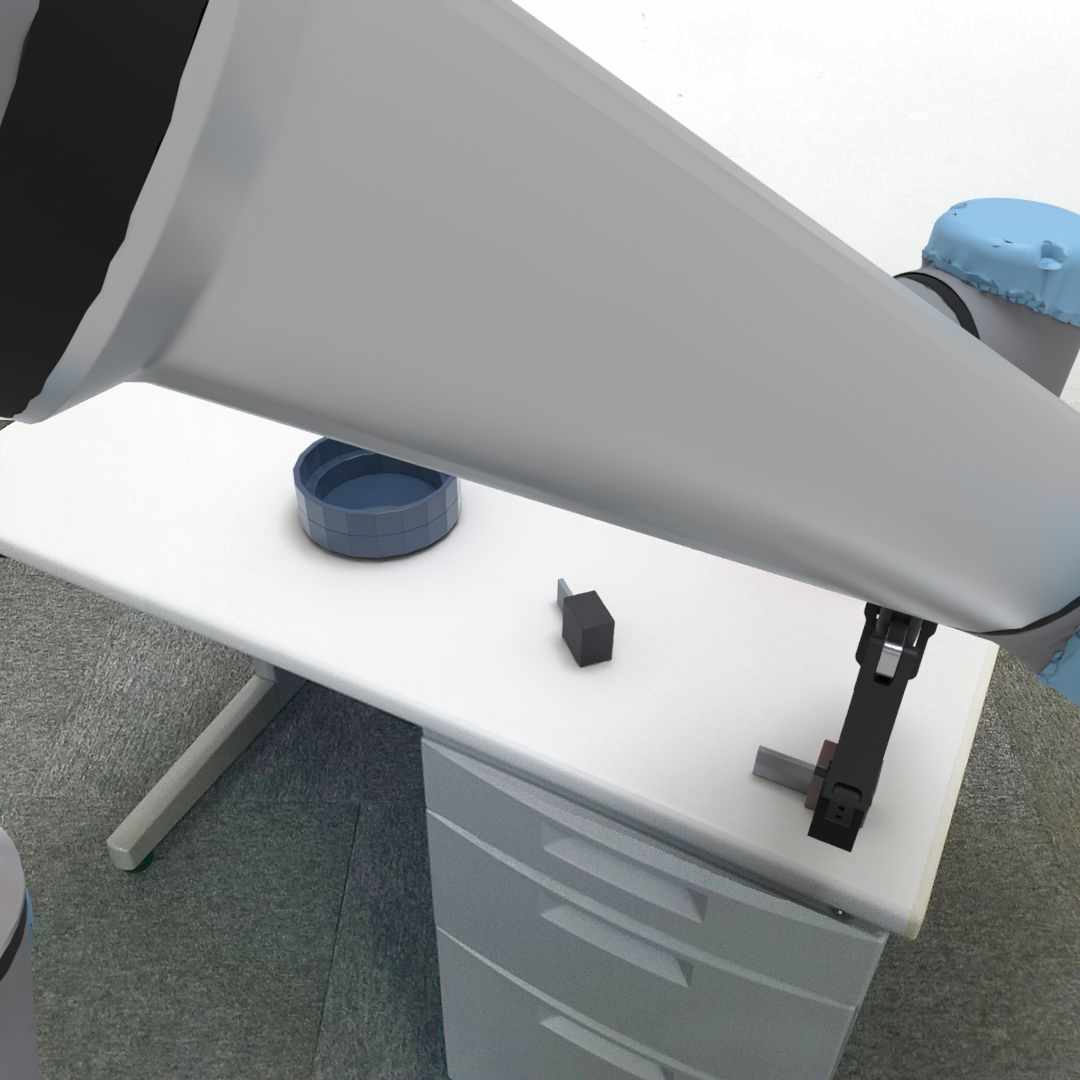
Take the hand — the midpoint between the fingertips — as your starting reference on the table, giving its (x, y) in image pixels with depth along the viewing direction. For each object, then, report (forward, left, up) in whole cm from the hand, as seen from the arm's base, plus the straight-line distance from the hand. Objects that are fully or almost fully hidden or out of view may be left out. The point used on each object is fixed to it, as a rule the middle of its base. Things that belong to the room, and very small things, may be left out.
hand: (853, 761), depth 64 cm
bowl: (+3, +49, -4) cm, 49 cm away
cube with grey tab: (+2, +24, -4) cm, 25 cm away
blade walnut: (-1, +2, -4) cm, 5 cm away
